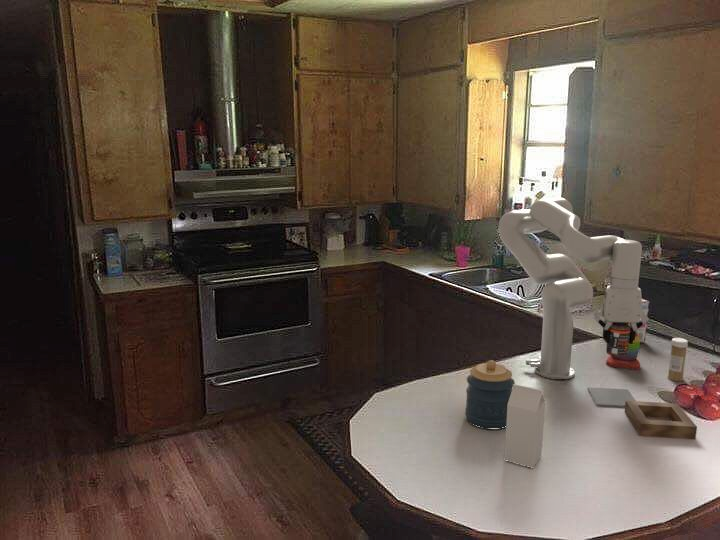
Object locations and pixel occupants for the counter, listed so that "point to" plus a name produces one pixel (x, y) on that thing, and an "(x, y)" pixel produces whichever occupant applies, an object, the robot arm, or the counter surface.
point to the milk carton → (524, 425)
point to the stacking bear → (628, 360)
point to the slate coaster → (610, 396)
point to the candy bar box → (642, 329)
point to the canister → (488, 395)
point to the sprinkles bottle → (677, 359)
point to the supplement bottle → (618, 339)
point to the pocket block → (673, 429)
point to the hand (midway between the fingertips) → (618, 341)
